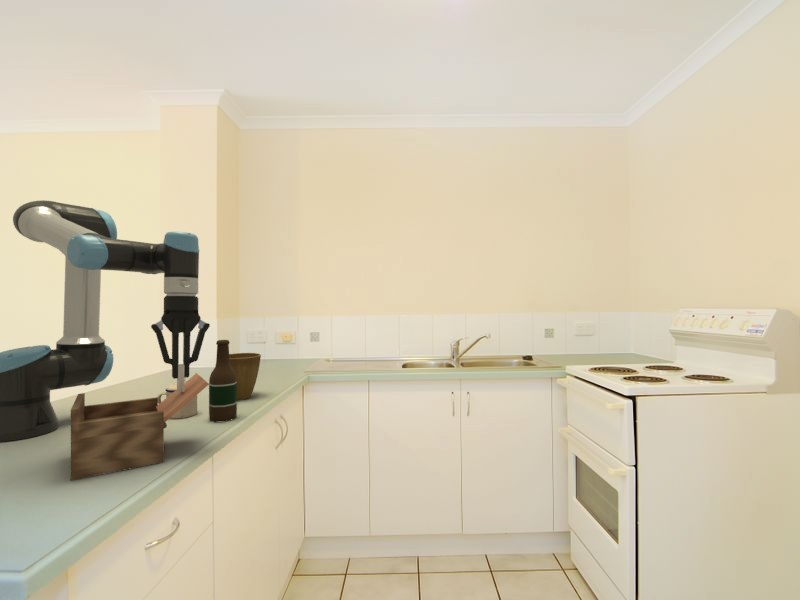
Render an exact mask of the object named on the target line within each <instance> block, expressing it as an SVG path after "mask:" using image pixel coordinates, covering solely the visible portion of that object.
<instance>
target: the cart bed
mask: <svg viewBox="0 0 800 600" xmlns="http://www.w3.org/2000/svg"><path fill="white" fill-rule="evenodd" d="M85 394H86V393H83V392H81V393H77V396H76V398H75V400H74V402H73V404H72V405H71V409H70V481H75V480H81V479H85V478H90V476H91V477H95V476H94V475H96V476H100V475H99V474H101V475H104V474H103V473H106V474H110V473H109V472H111V473H115V472H114V471H116V472H120V471H119V470H121V471H125V470H124V469H127V470H130V469H129V468H132V469H136V468H135V467H137V468H140V466H142V467H145V465H147V466H150V464H152V465H155V464H154V463H157V464H161V463H160V462H162V463H164V462H165V460H164V458H165V457H164V455H165V450H164V449H165V447H164V445H165V442H164V441H165V439H164V438H165V437H164V436H165V435H164V434H165V433H164V431H165V429H166V428H167V426H168V425H167V423H166V422H167V421H166V422H164V412H163V411H160V412H158V411H157V408H156V406H157V405H159V404H158V398H157V397H158V396H156V397H149V398H140V399H132V400H124V401H115V402H105V403H99V404H98V403H97V404H89V405H86V403H85V401H86V399H85V398H86V396H85Z"/></svg>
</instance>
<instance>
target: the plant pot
mask: <svg viewBox="0 0 800 600" xmlns="http://www.w3.org/2000/svg"><path fill="white" fill-rule="evenodd" d="M229 358H230V365H231V367H232V368H233V370H234V371H235V374H236V379H237V401H240V400H242V399H243V400H247V398H248V399H251V397H252V395H253V392H254V389H255V386H256V382H257V379H258V374H259V370H260V365H261V364H260V363H261V358H262V354H260V353H256V352H237V353H235V352H234V353H229Z"/></svg>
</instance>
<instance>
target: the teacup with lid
mask: <svg viewBox="0 0 800 600" xmlns="http://www.w3.org/2000/svg"><path fill="white" fill-rule="evenodd" d="M186 379H187V378H184V383H185V382H186V381H187V380H186ZM175 390H177V381H175V382H174V383H173V384H171V385H168V386H166V388H165V392H161V393H159V394H158V395H157V396H156V397H157V398H158V405H159V404H160V403H161V402H162V400H161V398H162V396H164V395H165V396H166V397H165V399H166V398H167V397H168V396H169V395H171V394H172V393H173V392H174V391H175ZM197 414H198V394H197V395H196V396H195V397H194V398H193V399H192V400H190V401H189V402H188V403H187V404H186V405H185V406H183V407H182V408H181V409H180V410H179V411H178V412H176V413H175V414H174V415H173V416H172V417H171V418H170V419H186V418H190V417H193V416H195V415H197Z"/></svg>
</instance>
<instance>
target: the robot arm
mask: <svg viewBox="0 0 800 600" xmlns="http://www.w3.org/2000/svg"><path fill="white" fill-rule="evenodd" d="M12 222H13V226H14V228H15V230H16V231H17V232H18V233H19V234H20V235H21V236H23V237H24V238H25V239H28V240H30V241H33V242H36V243H45V244H47V245H49V246H51V247H52V248H55V249H56V250H58V251H59V252H61V254H63V255H64V256H65V258H64V259H65V260H64V261H65V262H64V263H65V264H64V292H63V293H64V295H63V296H64V300H63V332H62V333H63V334H62V337H61V338H59V339H58V340H57V341H56V342H55V345H56V346H55V349H51V348H52V347H50V346H49V345H46V344H41V345H33V346H32V345H31V346H24V347H17V348H12V349H8V350H4V351H1V352H0V442H1V443H2V442H10V441H17V440H23V439H29V438H34V437H37V436H42V435H46V434H49V433H51V432H53V431H55V430H58V428H59V419H58V417H57V414H56V412H55V409H54V407H53V405H52V403H51V391H56V390H61V389H67V388H74V387H80V386H89V385H92V384H97V383H98V384H99V383H100V382H103V381H105V379H107V377H109V375H110V374H111V372H112V368H113V365H114V354H113V353H112V352H113V351H112V349H111V347H110V346H109V345H106V340H104V338H102V337H101V335H100V315H101V314H100V310H101V280H102V279H101V277H102V276H101V273H102V271H114V272H115V271H118V272H130V273H141V274H144V275H145V274H147V275H158V274H163V293H164V295H165V296H164V297H163V314H162V316H161V317H160V320H158V321H157V322H155V323H153V324H151V325H150V328H151V329H152V330H153V332H154V333H155V335H156V338H157V341H158V345H159V349H160V353H161V357H162V359H163V362H164V363H165V364H169V365H171V368H172V369H171V377H172V379H176V382H177V392H178V393H180V392H184V378H185V379H187V378H189V377H190V365H191V364H192V363H194V362H198V360H199V356H200V352H201V349H202V346H203V342H204V339H205V335H206V333H207V331H208V329H209V328H210V326H211V325H210V323H209V322H208V323H207V322H205V321H203V319H201V316H200V315H199V297H198V296H196V295H198V294H199V270H200V269H199V267H200V266H199V264H200V249H199V246H200V245H199V237H198V236H197V234H194V233H191V232H186V231H168V232H165V234H164V238H163V242H162V243H151V242H143V241H142V242H141V241H135V240H127V239H118V231H117V225H116V221H115V220H114V219H113V217H112V216H111V215H110V214H109V212H107V211H104V210H101V209H96V208H93V207H86V206H81V205H75V204H69V203H68V204H67V203H61V202H57V201H53V200H45V199H44V200H33V201H29V202H26V203H24V204H22V205H19V207H18V208H16V210H15V212H14V213H13V217H12ZM163 325H164V326H165V328H167V330H168V331H169V332H170V333H171V358H170V356H169V351H168V348H167V345H166V341H165V338H164V334H163V330H164V327H163ZM197 325H198V329H199V330H198V332H197V336H196V339H195V343H194V347H193V351H192V353H191V332H192V331H193V330H194V329H195V327H197ZM181 333H183V334H182V336H183V338H182V339H183V342H182V343H183V344H182V347H183V351H182V353H183V354H182V362H183V363H180V364H179V354H180V353H179V349H180V346H179V343H180V342H179V341H180V340H179V337H180V334H181Z"/></svg>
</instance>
